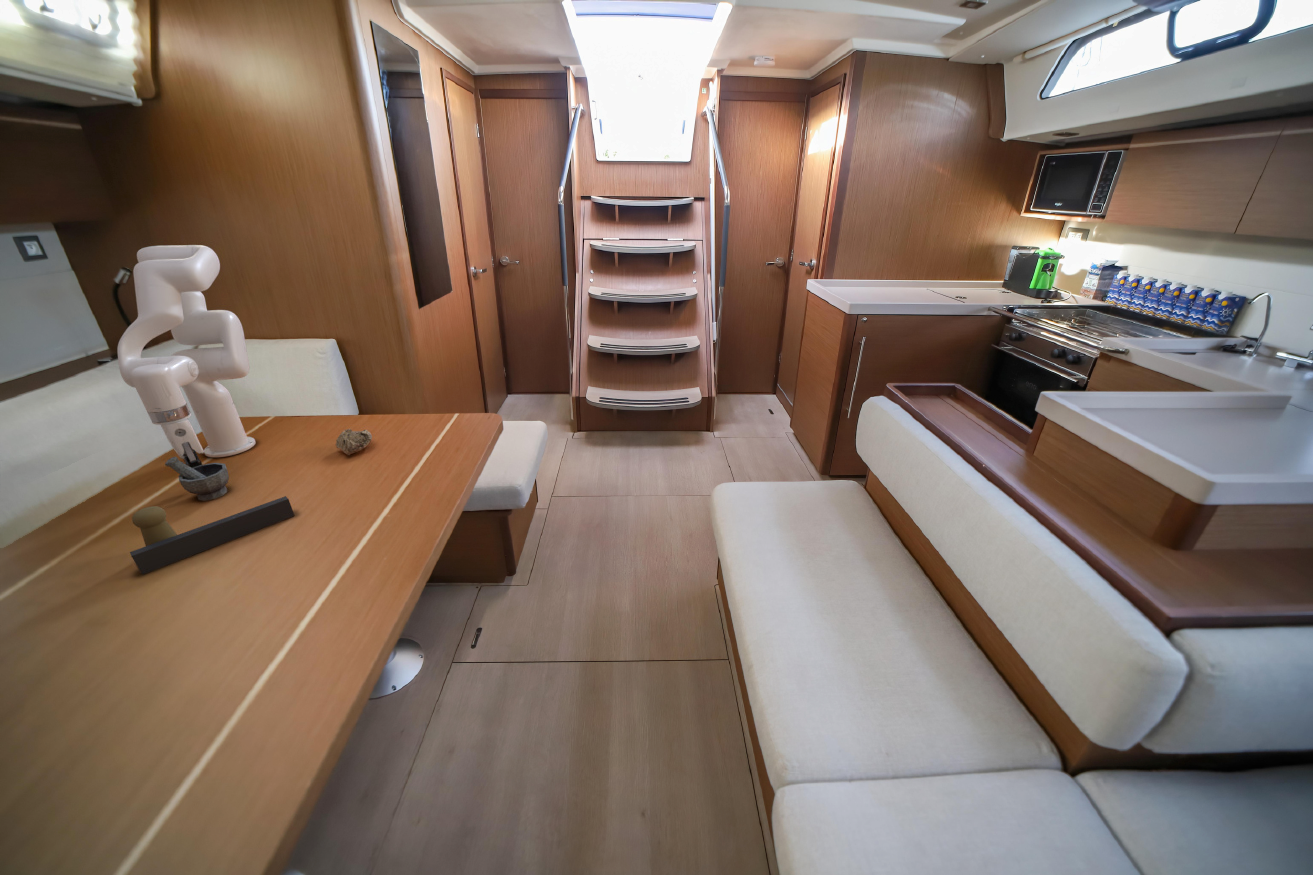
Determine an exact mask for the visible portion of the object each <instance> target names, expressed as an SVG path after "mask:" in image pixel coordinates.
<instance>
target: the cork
mask: <svg viewBox="0 0 1313 875" xmlns="http://www.w3.org/2000/svg"><path fill="white" fill-rule="evenodd" d="M166 518H167V512H166V510H165V509H164V508H163V507H160V506H157V505H155V506H154V505H153V506H147V507H143V508H141V509H139V510H137V511H136V512H134V513H133V514H132V517H131V521H132V524H133V525H134V526H135V527H137V528H139V529H140V531H141V536H142V539H143V542H144V546H148V545H151V544H154V543H156V542H159V541H162V540H165V539H168V538H170V537H173V536H176V535H178V533H177V532H176V531H175V529H174V528H173V527H172V526H171V524H170V523H169V522H168V521H167V519H166Z"/></svg>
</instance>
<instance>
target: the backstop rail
mask: <svg viewBox="0 0 1313 875" xmlns="http://www.w3.org/2000/svg"><path fill="white" fill-rule="evenodd" d="M293 517H295V512H294V510H293V507H292V504H291V502H290V499H289V498H288V497H287V496H286V495H285V496H282V497H279V498H276V499H273V500H271V501H268V502H265V503H262V504H258V505H257V506H254V507H251V508H249V509H245V510H243V511H240V512H237V513H235V514H232V515H229V516H225V517H224V518H221V519H218V520H215V521H213V522H209V523H207V524H204V525H201V526H198V527H196V528H193V529H190V530H187V531H184V532H182V533H179V534H177V535H176V536H173V537H170V538H168V539H165V540H162V541H159V542H156V543H154V544H151V545H148V546H146V545H144V546H143V547H140V548H137V549H134V550H131V551H129V554H130V557H131V558H132V560H133V562H134V564H135V565H136V567H137V569H138V570H139V572H140V574H141V575H142V576H143V575H145V574H146V575H147V574H149V573H151V572H153V571H157V570H159V569H162V568H164V567H166V566H169V565H171V564H174V563H177V562H179V561H181V560H186V559H187V558H189V557H192V556H194V555H198V554H200V553H203V552H205V551H207V550H210V549H214V548H216V547H219V546H221V545H223V544H226V543H228V542H231V541H234V540H236V539H239V538H241V537H244V536H247V535H249V534H252V533H254V532H257V531H259V530H263V529H265V528H267V527H270V526H272V525H275V524H278V523H280V522H283V521H285V520H288V519H291V518H293Z"/></svg>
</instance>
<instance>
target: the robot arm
mask: <svg viewBox="0 0 1313 875" xmlns="http://www.w3.org/2000/svg"><path fill="white" fill-rule="evenodd" d="M136 259H137V263H136V264H135V265H134V266H133V271H132V272H133V280H134V281H133V282H134V291H135V302H136V309H137V318H136V319H135V320H134V321H133V322H132V323H131V324H129V326H128V327H127V328H126V329H125V331H124V332H123V334H122V336H121V337H120V338H119V341H118V344H117V348H116V349H117V360H118V368H119V373H120V376H121V378H122V380H123V381H124V382H125V384H126V385H128V386H130V387H131V388H135V390H136V392H137V394H138V396H139V399H140V400H141V403H142V405H143V406H144V408H145V410H146V412H147V415H148V417H149V419H150V421H151V423H152V424H153V425H157V426H160V427H161V429H162V431H163V433H164V435H165V437H166V439H167V441H168V442H169V444H170V446H171V448H172V449H173V450H174V452H175V453H176V454H177V455H178V457H179V459H182V460H183V463H184V464H186V465H188V466H189V467H191V468H194V467H197V466H199V465H203V462H202V461H201V460H200V458H199V456H198V454H199V455H200V454H204V456H206V457H208V458H224V457H225V458H226V457H230V456H235V455H238V454H241V453H245V452H246V451H248V450H250V449H251V448H253V447H254V446H255V445H256V443H257V442H256V438H254V437H252V436H247V434H246V430H245V428H244V425H243V423H242V421H241V418H240V416H239V413H238V410H237V407H236V405H235V403H234V400H233V398H232V395H231V393H230V391H229V389H227V388H226V387H225V385H223V384H221V383H220V382H219V381H226V380H236V379H237V380H238V379H243V378H245V377H247V375H249V372H250V362H249V357H248V350H247V346H246V345H247V344H246V338H245V332H244V328H243V325H242V322H241V321H240V318H239V317H238V315H236V314H235V313H234V312H233V311H230V310H226V309H212V310H208V308H207V303H206V298H205V296H204V294H203V293H202V292H204V291H207V290H208V289H209V288H210V287H211V286H212V284H213V283H214V282H215V280H216V279H217V277H218V275H219V273H220V269H221V262H220V259H219V257H218V255H217V253H216V252H215V251H214V249H213V248H211V247H209V246H206V245H201V244H199V245H198V244H188V245H187V244H186V245H183V244H182V245H179V244H177V245H151V246H146V247H142V248H141V249H139V250H138V251H137V252H136ZM168 331H170V333H171V335H172V337H173V340H174V341H175V342H176V343H178V344H179V345H183V346H206V345H217V344H218V345H219V344H221V345H222V346H215V347H200V348H188V349H182V350H178V351H175V352H173V353H172V354H171V355H166V356H152V357H142V352H143V349H144V347H146V345H147V344H148V343H149V342H150V341H151V340H153V339H155V338H156V337H158V336H160V335H163V334H164V333H167V332H168ZM181 388H182V390H183V392H184V394H185V396H186V398H187V400H188V402H189V404H190V407H191V409H192V411H193V414H194V416H195V419H196V420H197V424H198V425H199V428H200V430H201V432H202V434H203V437H204V440H205V441H206V444H207V446H206V447H205V448H203V446H202V444H201V442H200V440H199V438H198V436H197V434H196V432H195V430H194V427H193V426H192V423H191V422H190V420H189V418H191V417H192V413H191V410H190V408H189V406H188V404H187V401H186V399H185V397H184V394H183V392H182V390H181Z"/></svg>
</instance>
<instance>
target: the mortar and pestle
mask: <svg viewBox="0 0 1313 875" xmlns="http://www.w3.org/2000/svg"><path fill="white" fill-rule="evenodd" d="M164 466H166V467H169V468H170V469H172V470H173V471H175V472H176V473H177V474H179V475H178V482H179V483H180V485H181V486H182V488H183V489H184V491H187V492H188V493H190V494H195V495H196V497H197V499H198V501H203V502H204V501H211V500H215V499H218V498H220V497H223V496H224V495H225V494H226V493H228V489H227V487H226V486H227V484H228V483H229V479H230V476H229V470H228V468H227V466H226V463H224V462H223V463H222V462H211V463H202V465H199V466H197V467H194V468H191V467H189V466H188V465H186V463H185V462H184V461H183V462H182V460H179V458H178V457H177V456H173V457H170V458H169V459H167V460H166V461H165V463H164Z"/></svg>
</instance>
